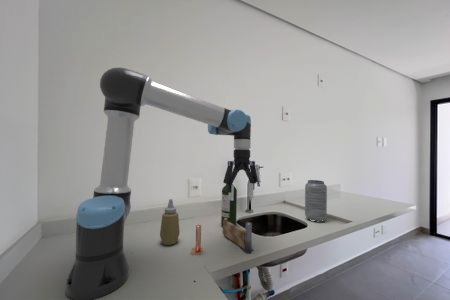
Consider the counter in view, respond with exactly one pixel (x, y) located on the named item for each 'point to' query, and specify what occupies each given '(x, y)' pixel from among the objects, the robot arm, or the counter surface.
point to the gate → (234, 233)
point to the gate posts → (247, 248)
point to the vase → (316, 200)
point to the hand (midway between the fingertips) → (241, 198)
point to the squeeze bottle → (169, 225)
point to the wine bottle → (229, 206)
